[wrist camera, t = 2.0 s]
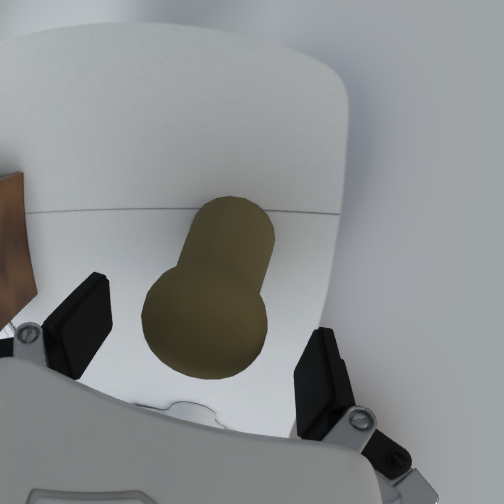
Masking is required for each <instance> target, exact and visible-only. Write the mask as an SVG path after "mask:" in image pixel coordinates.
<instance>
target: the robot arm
mask: <svg viewBox="0 0 504 504" xmlns="http://www.w3.org/2000/svg"><path fill="white" fill-rule="evenodd" d="M112 326H113V322H112V313H111V301H110V287H109V280H108V279H107V278H106V276H105V275H103V274H100V273H97V272H93V273H92V274H91V275H90V276H89V277H88V278H87V279H86V280H85V281H83V282H82V283H81V284H80V285H79V286H78V287H77V288H76V289H75V290H74V291H73V292H72V293H71V294H70V295H69V296H68V297H67V298H66V299H65V300H64V301H63V302H62V303H61V304H60V305H59V306H58V307H57V308H56V309H55V310H54V311H53V312H52V313H51V314H50V316H49V317H48V318H47V319H46V320H45V321H44V322H43V324H42V326H41V327H40V325H38V324H37V323H34V322H27V323H23V324H21V325H20V326H19V327H17V329H16V330H15V332H14V337H10V338H4V339H0V504H438V501H439V498H438V494H437V493H436V491H435V490H434V489H433V488H432V487H431V485H430V484H429V483H428V482H427V481H426V479H425V478H424V477H423V476H422V475H421V474H420V472H419V471H418V470H417V469H416V468H415V469H412V467H411V465H412V459H411V456H410V454H409V452H408V451H407V450H406V449H404V448H403V447H401V446H400V445H398V444H397V443H395V442H394V441H393V440H391V439H390V438H388V437H387V436H386V435H384V434H383V433H381V432H380V431H379V430H377V429H376V427H377V419H376V416H375V415H374V413H373V412H372V411H371V410H370V409H368V408H366V407H364V406H356V404H355V400H354V396H353V392H352V388H351V384H350V380H349V376H348V373H347V369H346V365H345V362H344V360H343V359H341V358H340V354H339V350H338V347H337V343H336V339H335V336H334V332H333V330H332V329H330V328H324V327H319V328H318V330H317V329H315V330H314V331H313V333H312V335H311V337H310V339H309V341H308V344H307V346H306V348H305V350H304V352H303V354H302V356H301V358H300V360H299V362H298V364H297V366H296V368H295V370H294V389H295V404H296V421H297V435H298V436H299V437H301V439H293V438H282V437H274V436H266V435H258V434H251V433H244V432H238V431H232V430H227V429H222V428H217V427H212V426H207V425H203V424H198V423H194V422H190V421H186V420H182V419H178V418H175V417H171V416H168V415H164V414H161V413H158V412H154V411H151V410H148V409H145V408H142V407H139V406H136V405H133V404H131V403H128V402H125V401H122V400H120V399H117V398H115V397H112V396H109V395H107V394H105V393H102V392H100V391H97V390H95V389H93V388H91V387H88V386H86V385H84V384H82V383H79V382H77V381H75V380H76V379H77V380H78V379H80V377H81V376H82V374H83V373H84V371H85V369H86V368H87V366H88V365H89V363H90V362H91V360H92V359H93V357H94V355H95V354H96V352H97V351H98V349H99V348H100V346H101V345H102V343H103V342H104V340H105V339H106V337H107V336H108V335H109V333H110V332H111V330H112Z"/></svg>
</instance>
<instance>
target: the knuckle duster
mask: <svg viewBox="0 0 504 504" xmlns="http://www.w3.org/2000/svg"><path fill="white" fill-rule="evenodd" d="M142 408H145V409H148V410H151V411H154V412H158V413H161V414H164V415H168V416H171V417H175V418H178V419H182V420H186V421H190V422H194V423H198V424H203V425H207V426H212V427H217V428H222V429H225V427H224V426H222V425H220V424H218V423H217V422H216V421H215V413H214V412H213V411H211V410H210V409H208V408H206V407H204V406H201V405H198V404H194V403H188V402H179V403H175V404H173V405H172V406H171V407H170V409H169V410H159V409H154V408H147V407H142Z"/></svg>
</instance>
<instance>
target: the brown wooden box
mask: <svg viewBox="0 0 504 504" xmlns="http://www.w3.org/2000/svg"><path fill="white" fill-rule="evenodd" d="M36 295H37V290H36V286H35V281H34V276H33V271H32V266H31V261H30V255H29V248H28V241H27V233H26V224H25V213H24V197H23V173H22V172H15V173H12V174H9V175H6V176H3V177H1V176H0V332H1V331H2V330H3V328H4V327H5V326H6V325H7V324H8V323H9V322H10V321H11V320H12V319H13V318H14V317H15V316H16V315H17V314H18V313H19V312H20V311H21V310H22V309H23V308H24V307H25V306H26V305H27V304H28V303H29V302H30V301H31V300H32V299H33V298H34V297H35V296H36Z"/></svg>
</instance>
